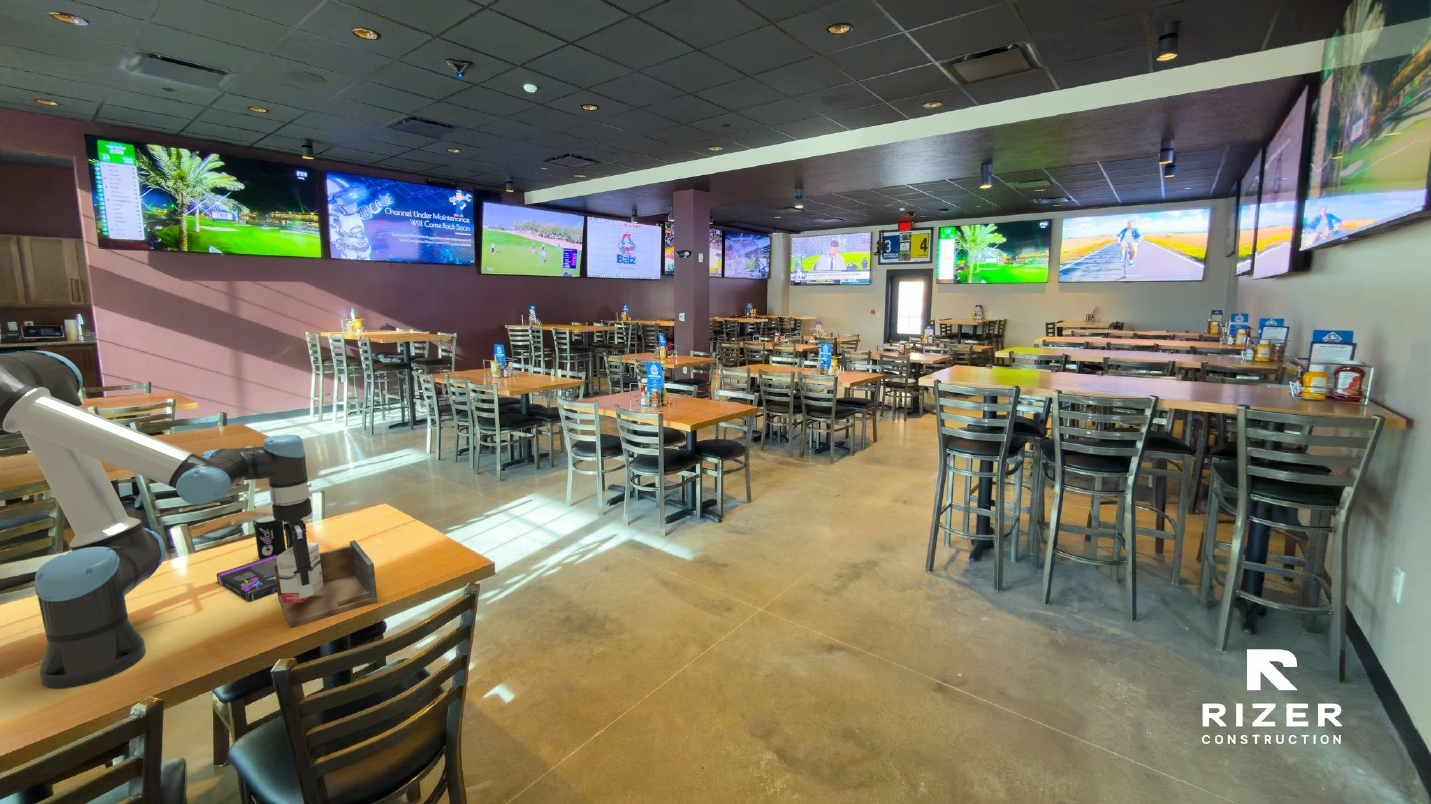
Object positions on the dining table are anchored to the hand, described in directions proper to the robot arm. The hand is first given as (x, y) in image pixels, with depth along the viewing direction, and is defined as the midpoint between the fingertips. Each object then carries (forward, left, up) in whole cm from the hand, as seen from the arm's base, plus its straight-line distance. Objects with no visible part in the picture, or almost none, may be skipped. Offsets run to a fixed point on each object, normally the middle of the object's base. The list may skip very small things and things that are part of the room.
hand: (302, 588), depth 148 cm
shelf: (+5, +1, -5) cm, 7 cm away
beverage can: (-2, +40, -5) cm, 40 cm away
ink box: (0, 0, -2) cm, 2 cm away
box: (-6, +23, -6) cm, 25 cm away
